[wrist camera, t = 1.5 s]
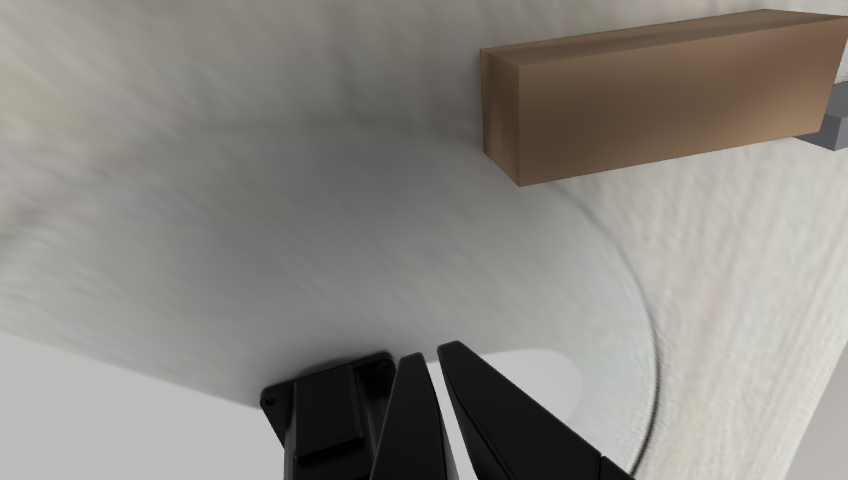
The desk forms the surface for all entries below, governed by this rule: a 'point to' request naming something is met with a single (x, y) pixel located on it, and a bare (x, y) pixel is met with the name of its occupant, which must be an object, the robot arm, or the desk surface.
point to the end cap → (832, 121)
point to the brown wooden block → (657, 91)
